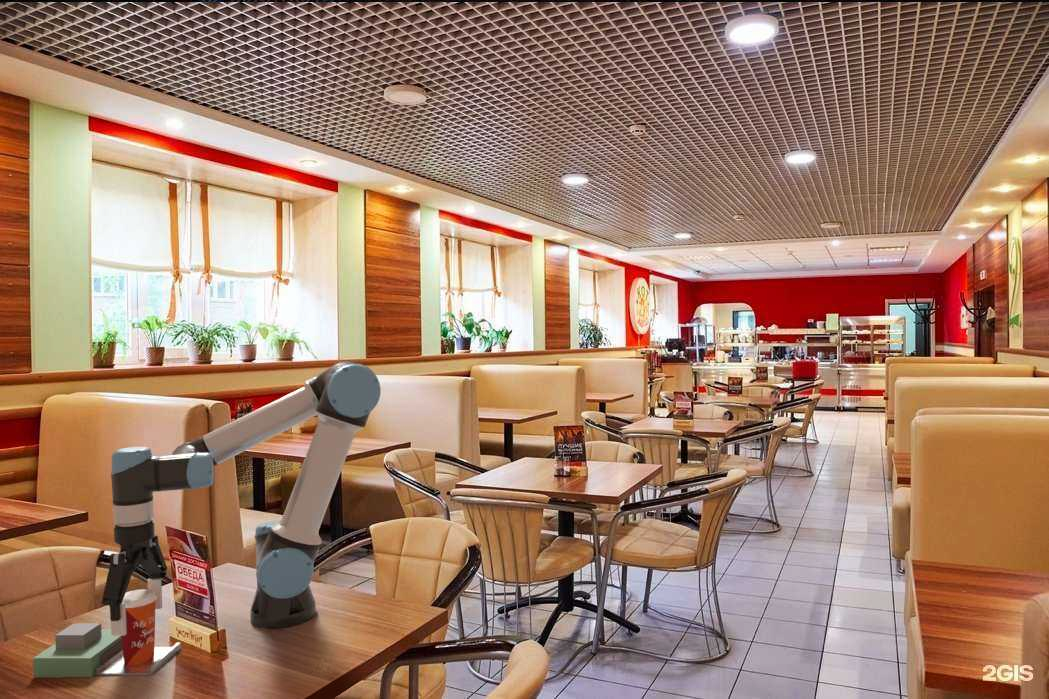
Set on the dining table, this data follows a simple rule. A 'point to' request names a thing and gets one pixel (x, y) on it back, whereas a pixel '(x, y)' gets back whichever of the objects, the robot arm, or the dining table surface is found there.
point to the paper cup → (139, 627)
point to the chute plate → (118, 666)
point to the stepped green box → (77, 651)
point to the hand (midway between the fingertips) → (138, 621)
